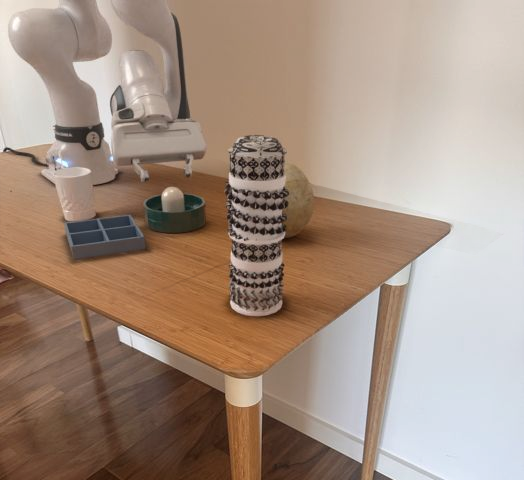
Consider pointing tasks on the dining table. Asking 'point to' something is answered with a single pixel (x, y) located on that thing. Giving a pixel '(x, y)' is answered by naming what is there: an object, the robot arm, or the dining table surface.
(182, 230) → the bowl
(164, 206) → the cream capsule
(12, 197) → the dining table surface
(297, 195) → the fossilized egg
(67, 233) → the divided tray
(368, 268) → the dining table surface
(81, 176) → the white cup
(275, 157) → the decorative candle
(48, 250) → the dining table surface
